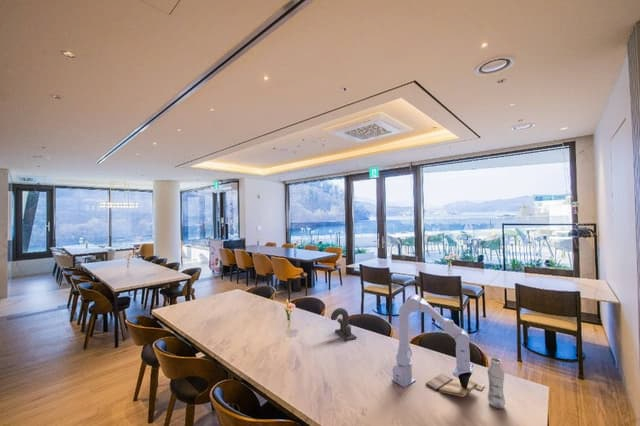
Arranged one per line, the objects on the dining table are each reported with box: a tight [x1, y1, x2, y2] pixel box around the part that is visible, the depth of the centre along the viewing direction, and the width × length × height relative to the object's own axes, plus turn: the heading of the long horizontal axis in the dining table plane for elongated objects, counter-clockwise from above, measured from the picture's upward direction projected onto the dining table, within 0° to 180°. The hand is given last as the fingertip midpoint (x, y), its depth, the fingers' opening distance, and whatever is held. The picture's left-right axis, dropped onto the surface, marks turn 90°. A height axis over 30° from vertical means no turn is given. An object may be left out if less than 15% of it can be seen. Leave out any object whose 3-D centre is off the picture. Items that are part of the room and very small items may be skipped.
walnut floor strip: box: [425, 373, 454, 392], centre depth 137 cm, size 14×6×1 cm, turn 125°
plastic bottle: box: [486, 357, 506, 410], centre depth 121 cm, size 6×7×20 cm
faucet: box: [330, 307, 358, 342], centre depth 194 cm, size 18×16×20 cm
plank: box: [454, 377, 486, 392], centre depth 137 cm, size 5×12×1 cm, turn 44°
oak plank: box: [438, 379, 477, 398], centre depth 129 cm, size 13×12×1 cm
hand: (464, 387), depth 127 cm, fingers closed, pressing on oak plank
